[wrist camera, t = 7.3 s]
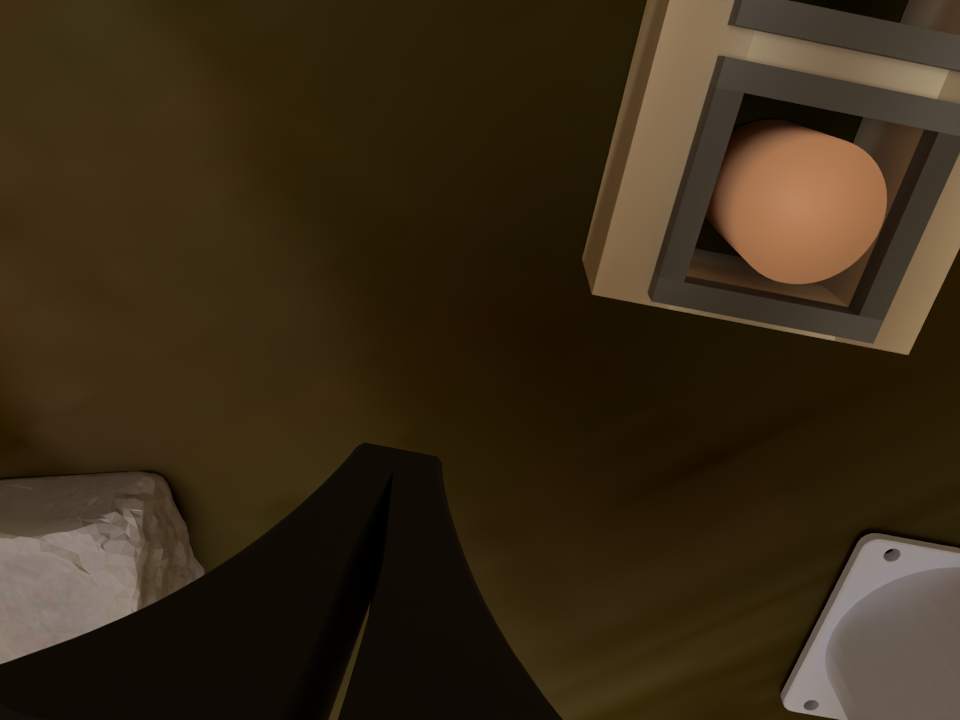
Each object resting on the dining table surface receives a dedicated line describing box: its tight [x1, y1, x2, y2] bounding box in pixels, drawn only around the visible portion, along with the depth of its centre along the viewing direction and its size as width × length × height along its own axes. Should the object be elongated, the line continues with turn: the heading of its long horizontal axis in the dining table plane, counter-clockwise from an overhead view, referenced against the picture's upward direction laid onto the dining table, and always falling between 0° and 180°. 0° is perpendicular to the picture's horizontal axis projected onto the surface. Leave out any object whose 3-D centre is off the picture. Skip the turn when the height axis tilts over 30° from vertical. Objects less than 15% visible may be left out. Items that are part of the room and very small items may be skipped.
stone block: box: [0, 471, 205, 664], centre depth 25 cm, size 12×5×10 cm
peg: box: [705, 119, 887, 284], centre depth 17 cm, size 3×3×3 cm
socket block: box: [582, 0, 960, 355], centre depth 16 cm, size 8×12×4 cm, turn 170°
